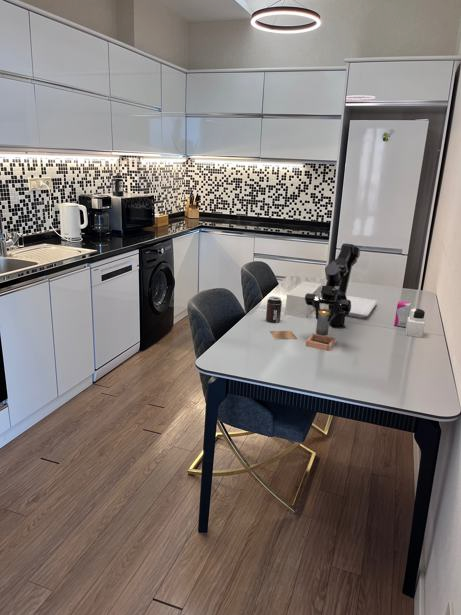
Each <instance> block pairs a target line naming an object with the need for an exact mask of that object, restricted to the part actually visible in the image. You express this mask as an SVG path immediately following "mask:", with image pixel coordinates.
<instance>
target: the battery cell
mask: <svg viewBox="0 0 461 615" xmlns="http://www.w3.org/2000/svg"><path fill="white" fill-rule="evenodd" d="M330 314H331V311H330V310H328V309H327V308H320V309H319V310H318V318H317V319H316V320H317V321H316V326H315V327H316V328H315V334H317V335H322V336H328V335H329V331H330V330H329V329H330V328H329V327H330V325H329V317H330Z"/></svg>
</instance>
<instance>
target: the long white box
mask: <svg viewBox="0 0 461 615" xmlns="http://www.w3.org/2000/svg"><path fill="white" fill-rule="evenodd" d="M322 286H323V284H322V283H318V282H313V281H311V282H310V281H305V280H303V281H301V282H300V283H299V284H298V285H297V286H296V287H294V288H293V289H291V291H289V292H288V293H287V294H286V299H285V300H286V301H285V310H284V311H285V312H284V315H285V316H292V317H296V318H304V319H307V317H308V316H309V315H310V314H311V313H312V312H313V310H314V309H315V308H314V307H313V306H311V305H307V304H306V301H305V296H306V294H307V293H310V294H316V297H319V298H321V294H322V293H321V290H322Z"/></svg>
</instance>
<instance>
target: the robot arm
mask: <svg viewBox="0 0 461 615" xmlns="http://www.w3.org/2000/svg"><path fill="white" fill-rule="evenodd" d="M360 255H361V249H360V248H359V247H358V246H355V244H353V243H352V244H351V243H343V244H342V245H341V247H340V252H339V254H338V255H337V258H335V259H333V260H332V261H331V263H329V264H327V265H326V266H325V267H324V273H325V278H326V283H325V285H322V287H321V296H320V298H319V297H316V294H310V293H307V294H306V296H305V301H306V304H307V305H311V306H313V307H314V309H315V311H314V312H315V320H317V318H318V310H319V309H321V305H320V304H324V305H328V310H330V311H331V314H330V317H329V327H332V329H333V328H338V329H339V328H342V329H343V328H346V326H345V321H346V315H349V312H350V310H351V301H350V300H347V298H346V297H347V296H346V294H347V290H348V286H349V282H350V279H351V278H350V277H351V273H352V268H353V266H354V265H355V264H356V263H357V262H358V258H360V257H361V256H360ZM344 311H345V312H344Z"/></svg>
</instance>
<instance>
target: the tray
mask: <svg viewBox="0 0 461 615" xmlns="http://www.w3.org/2000/svg"><path fill="white" fill-rule="evenodd" d="M346 298H347V300H350V301H351V310H350V312H349V315H346V316H348V317H352V318H357V319H363V318H365V317H368V316H369V315H370V314H371V312H372V311H373V309H374V307H375V306H376V304H377V302H378V300H377V299H370V298H365V297H359V296H358V297H357V296H351V295H347V296H346ZM344 312H345V311H344ZM346 316H345V317H346Z"/></svg>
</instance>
